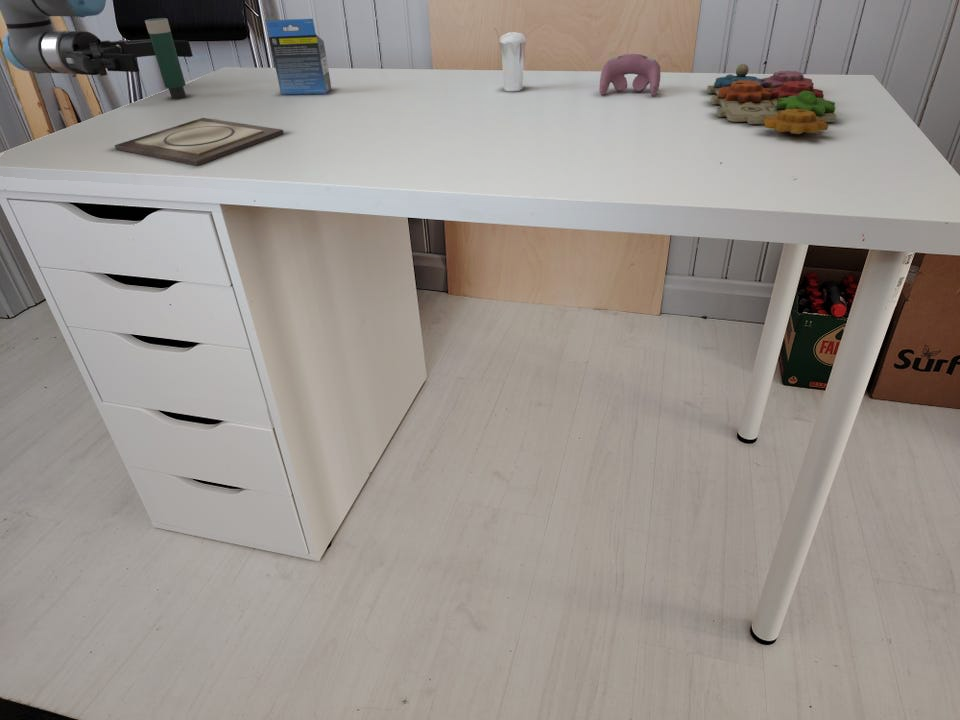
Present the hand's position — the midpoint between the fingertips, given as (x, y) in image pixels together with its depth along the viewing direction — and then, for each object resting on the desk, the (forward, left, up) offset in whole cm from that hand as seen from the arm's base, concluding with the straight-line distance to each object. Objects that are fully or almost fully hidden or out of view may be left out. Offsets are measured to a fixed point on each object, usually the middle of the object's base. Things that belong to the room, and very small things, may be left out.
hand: (163, 55), depth 117 cm
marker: (+1, 0, -7) cm, 7 cm away
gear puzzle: (+100, +28, -7) cm, 104 cm away
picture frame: (+29, -18, -7) cm, 35 cm away
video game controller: (+77, +32, -7) cm, 84 cm away
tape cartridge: (+22, +12, -7) cm, 26 cm away
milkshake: (+57, +27, -7) cm, 63 cm away
